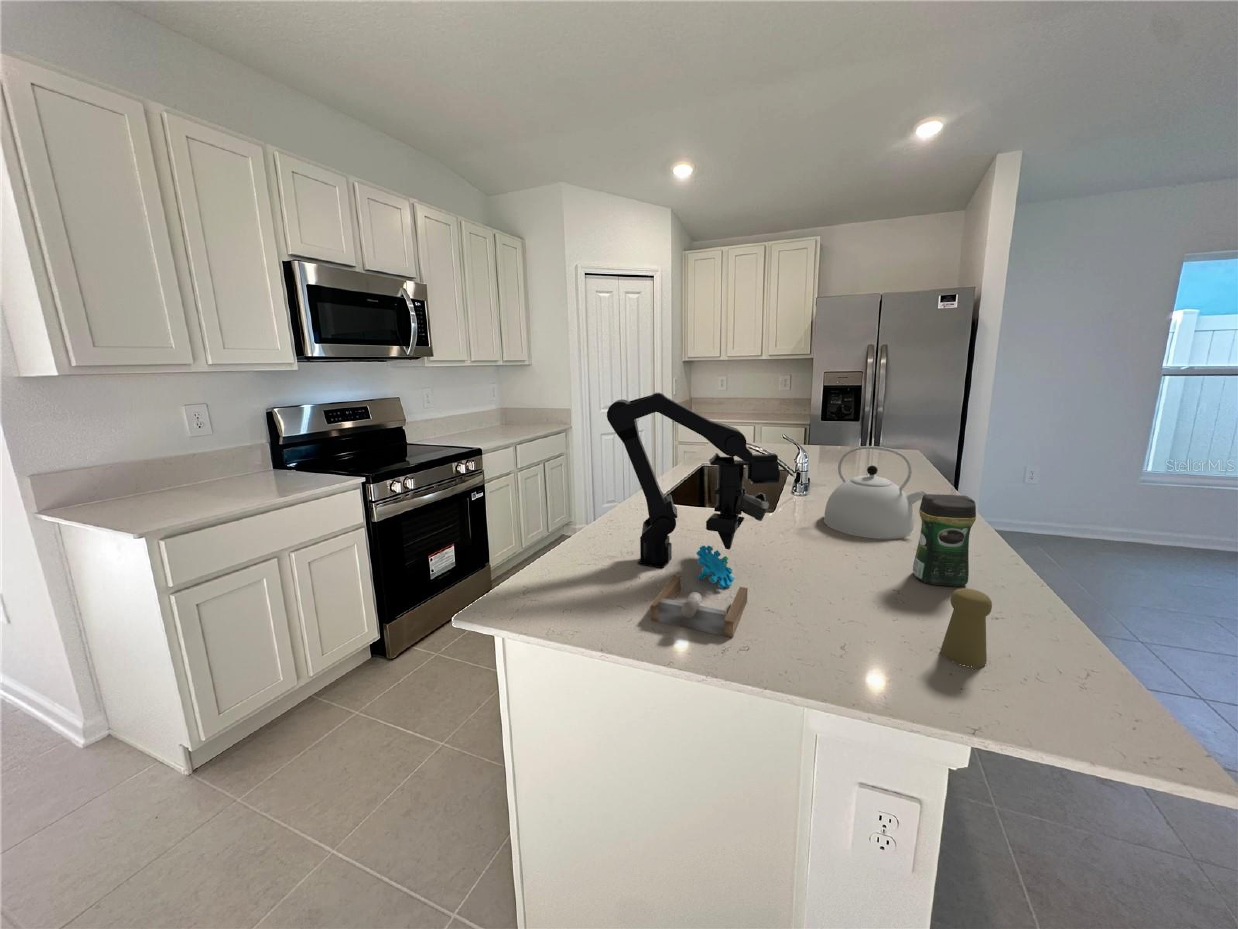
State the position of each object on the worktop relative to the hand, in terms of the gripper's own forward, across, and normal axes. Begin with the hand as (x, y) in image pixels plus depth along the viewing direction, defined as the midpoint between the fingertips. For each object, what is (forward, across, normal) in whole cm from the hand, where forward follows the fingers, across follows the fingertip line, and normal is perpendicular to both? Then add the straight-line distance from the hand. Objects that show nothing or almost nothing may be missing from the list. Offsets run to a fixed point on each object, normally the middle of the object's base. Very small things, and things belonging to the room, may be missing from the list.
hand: (728, 548), depth 113 cm
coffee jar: (+4, +8, -43) cm, 44 cm away
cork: (+4, -22, -42) cm, 47 cm away
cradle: (+4, -24, 0) cm, 24 cm away
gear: (+4, -10, 0) cm, 11 cm away
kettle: (+4, +41, -32) cm, 52 cm away
